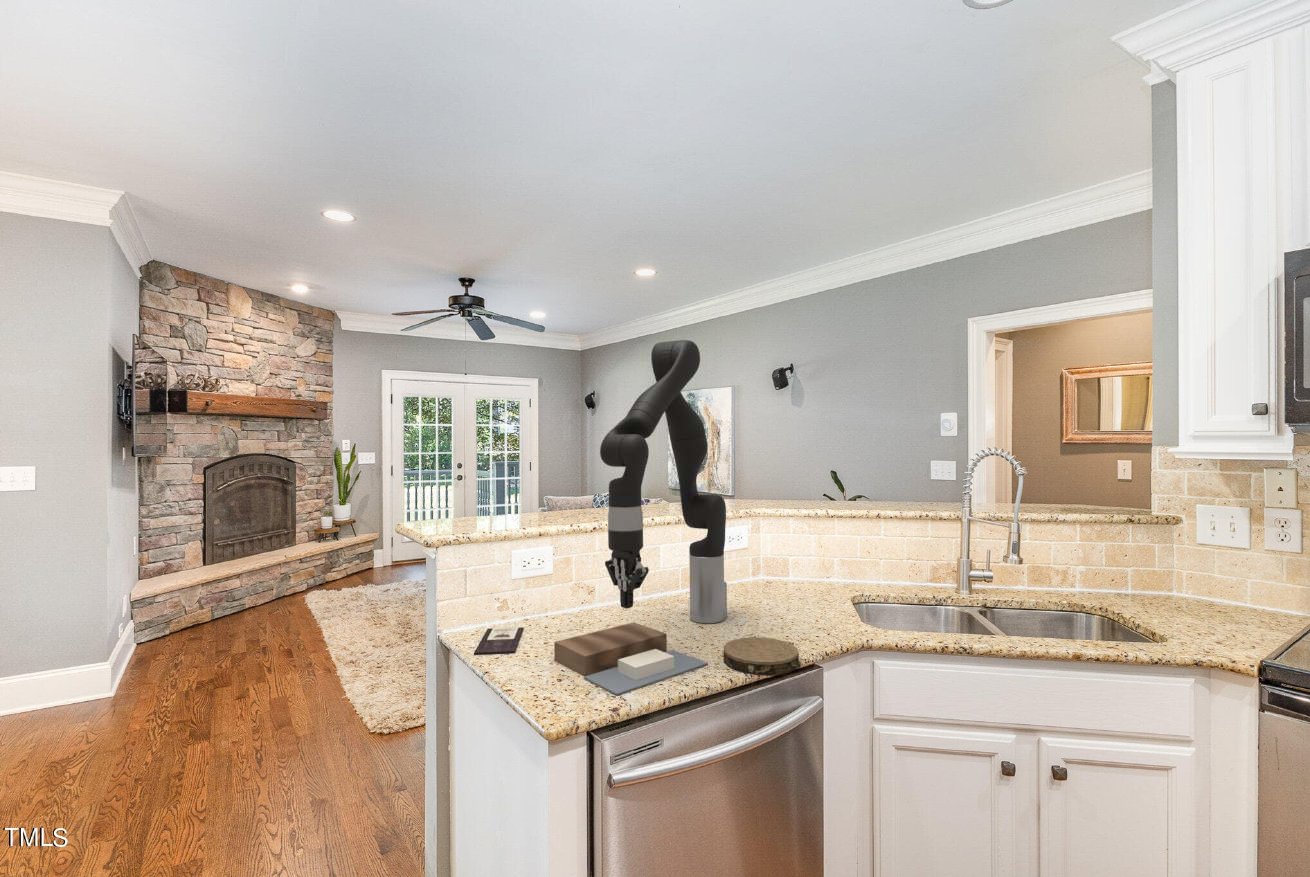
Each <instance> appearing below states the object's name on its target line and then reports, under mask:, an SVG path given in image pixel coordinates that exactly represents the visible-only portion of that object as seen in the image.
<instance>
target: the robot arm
mask: <svg viewBox="0 0 1310 877" xmlns="http://www.w3.org/2000/svg"><path fill="white" fill-rule="evenodd" d="M650 356H651V358H650V359H651V368H652V370H653V376H654V378H655V383H653V385H650V386H649V388H647V389H646V390H644V391H643V392H642V393H641V394H640V395H638V397H637V398H636V400H635V401H634V403H633V404H632V406H631V407H630V409H629V410H628V412H627V414H626V415H625V417H624V418H623V419H622V420H620V421H619V422H618V423H617V424H616V425H615V426H613V428H612V429H610V430H609V431H608V432H607V434H606V435H605V436H604V438H603V440H602V441H601V445H600V448H599V455H600V459H601V460H602V462H603V463H604V464H605V465H607V466H608V467H613V468H614V467H616V468H624V471H623V474H622V476H621V477H618V478H614V479H612V480H610V481H609V483H608V513H607V540H608V541H607V546H608V549H609V550H610V551H611V554H610V556H611V558H610V559H608V560H605V562H604V565H605V568H606V570H607V572H608V575H609V577H610V580H611V582H612V584H613V586H617V588H618V591H619V597H620V598H619V600H620V601H619V602H620V607H621V608H622V609H623V608H624V609H631V608H633V606H634V592H635V590H637V589H640V588H641V587H642V584H643V583H644V581H645V579H646V577H647V575H648V574H649V571H650V569H649V567H648V566H644V565H643V564H642V563H641V562H642V557H641V554H640V553H641V550H642V549H643V548H644V520H643V519H644V518H643V509H642V485H643V481H644V477H645V472H646V468H647V464H648V460H649V454H650V451H649V444H648V442H647V441H646V439H648V438H649V437H650V436H651V435H652V434H653V433H654V431H655V430H656V429H657V426H658V425H659V422H660V421H661V419H662V417H663V415H664V414H665V419H666V422H667V428H668V429H667V430H668V435H669V440H670V445H671V446H670V447H671V450H672V453H673V458H674V462H675V468H676V473H677V479H678V487H679V496H680V502H681V504H680V505H681V512H682V517H683V520H684V523H685V525H686V526H688V527H689V528H692V529H698V530H699V529H700V530H706V531H707V532H706V536H705V537H704V538H702V539H700V540H697V541H694V542H691V543H690V545H689V548H688V549H689V551H688V552H689V554H688V555H689V556H688V557H689V558H688V560H689V619H690V621H692V622H696V623H699V624H717V623H720V622H723V621H725V619H727V618H728V593H727V592H728V587H727V586H728V585H727V584H728V583H727V582H726V581H725V544H726V525H727V524H726V523H727V508H726V507H727V506H726V502H725V499H724V498H723V496H721V495H718V494H703V493H702V494H701V493H699V492H698V486H697V485H698V484H697V477H698V475H699V472H700V469H701V467H702V465H703V462H705V458H706V456H707V454H708V447H709V446H708V441H707V439H708V438H707V435H706V430H705V424H704V423H703V420H702V419H701V417H700V416H699V415H698V413H697V412H696V411H695V410H694V408H693V407H692V406H691V405H690V403H688V401H687V400H686V399H685V397H684V395H683V394H682V390H684V388H685V387H686V386H687V384H688V383H689V382H690V381H691V380H692V379H693V378H694V376H695V374H696V373H697V371H698V369H699V367H700V363H701V352H700V350H699V347H698V345H697V344H696V343H695V342H694V341H692V340H688V339H680V340H679V339H678V340H668V341H661V342H660V341H659V342H657V343H656V344H654V346H653V347H652V350H651V355H650Z"/></svg>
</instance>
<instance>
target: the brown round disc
mask: <svg viewBox="0 0 1310 877" xmlns="http://www.w3.org/2000/svg"><path fill="white" fill-rule="evenodd" d="M799 653H800V652H799V649H798V648H797V646H795V645H794V644H792V643H790V642H787V641H784V640H781V639H777V638H776V639H775V638H769V637H755V636H753V637H749V636H748V637H742V638H741V637H740V638H736V639H733V640H730V641H728V642H726V643H725V644H724V645H723V663H724V664H725V666H726V667H728V668H730V669H732V670H733V671H736V672H740V673H741V674H742V673H743V674H745V675H746V674H748V675H755V676H767V677H768V676H769V677H770V676H780V675H784V674H787V673H792V672H793V671H794V670H796V669H797V668H798V667H799V666H800V664H799V660H800V659H799V655H800V654H799Z"/></svg>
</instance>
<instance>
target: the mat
mask: <svg viewBox="0 0 1310 877" xmlns="http://www.w3.org/2000/svg"><path fill="white" fill-rule="evenodd" d="M665 653H667V654H670V655H672V656H674V669H671V670H668V671H664V672H661V673H658V674H655V675H652V676H649V677H646V678H642V679H639V680H634V679H632V678H630V677H627V676H625V675H623V674H621V673H619V672H618V666H617V667H614V668H611V669H607V670H604V671H601V672H597V673H594V674H591V675H587V676H583V679H584V680H585V681H587V682H589V683H591V684H593V685H595V686H597V687H599V688H601V689H603V690H605V691H607V692H608V693H610V694H612V693H613V694H612V695H614V696H616V697H618V696H620V695H623V694H622V693H624V694H626V692H627V693H630V692H632V690H633V691H635V689H636V690H638V688H639V689H641V687H642V688H644V687H647V686H650V685H653V684H656V683H658V681H659V682H662V681H665V680H668V679H670V677H671V678H673V677H677V676H680V675H682V674H686V673H688V672H691V671H695V670H697V669H700V668H703V667H706V666H708V665H709V662H706V661H703V660H701V659H698V658H696V657H693V656H691V655H688V654H685V653H682V652H679V651H677V650H674V649H671V650H667V652H665ZM676 675H677V676H676ZM664 679H665V680H664ZM655 682H656V683H655ZM652 683H653V684H652ZM649 684H650V685H649ZM643 686H644V687H643ZM629 691H630V692H629Z"/></svg>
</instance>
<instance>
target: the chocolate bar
mask: <svg viewBox="0 0 1310 877" xmlns="http://www.w3.org/2000/svg"><path fill="white" fill-rule="evenodd" d="M524 629H525V627H524V626H523V627H498V628H497V627H495V628H494V627H492V628H487V629H486V630H485V632H484V634H483V636H482V638H481V640H480V641H479V643H478V645H477V646H476V649H475V650H474V652H473V656H486V655H487V656H488V655H509V654H510V655H511V654H513V655H515V654H516V652H517V649H518V647H519V646H518V645H519V644H520V640H521V638H522V636H523V632H524Z"/></svg>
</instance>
